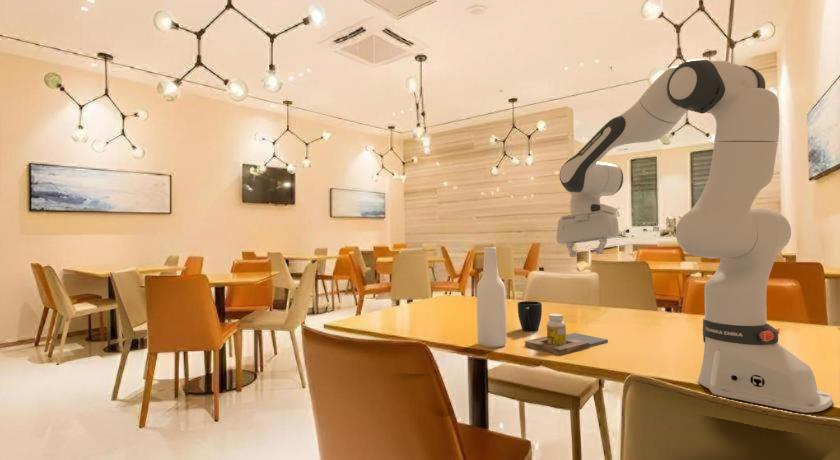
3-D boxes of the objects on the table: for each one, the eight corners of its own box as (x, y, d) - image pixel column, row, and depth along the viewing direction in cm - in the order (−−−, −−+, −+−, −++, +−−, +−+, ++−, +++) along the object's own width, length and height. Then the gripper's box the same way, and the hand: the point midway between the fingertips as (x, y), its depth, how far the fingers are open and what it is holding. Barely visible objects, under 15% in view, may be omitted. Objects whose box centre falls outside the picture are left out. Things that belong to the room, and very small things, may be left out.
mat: (607, 342, 140) (607, 339, 140) (589, 346, 134) (589, 344, 134) (575, 335, 149) (574, 332, 149) (557, 339, 144) (556, 336, 144)
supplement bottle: (569, 348, 133) (569, 315, 134) (554, 350, 132) (553, 317, 132) (559, 344, 139) (558, 312, 139) (543, 345, 137) (543, 313, 137)
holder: (589, 347, 134) (589, 342, 134) (560, 355, 126) (560, 349, 126) (553, 339, 144) (553, 334, 144) (525, 346, 137) (525, 341, 137)
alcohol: (476, 347, 136) (473, 248, 137) (479, 340, 145) (477, 246, 145) (505, 348, 134) (503, 247, 134) (507, 341, 143) (505, 246, 143)
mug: (513, 333, 154) (512, 305, 154) (520, 326, 165) (520, 300, 165) (538, 335, 150) (537, 306, 150) (544, 328, 161) (543, 301, 161)
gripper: (552, 215, 149) (552, 257, 146) (608, 203, 132) (609, 250, 129) (564, 218, 152) (564, 259, 149) (620, 207, 135) (622, 253, 132)
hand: (586, 255), depth 139 cm, fingers open, 8 cm apart
